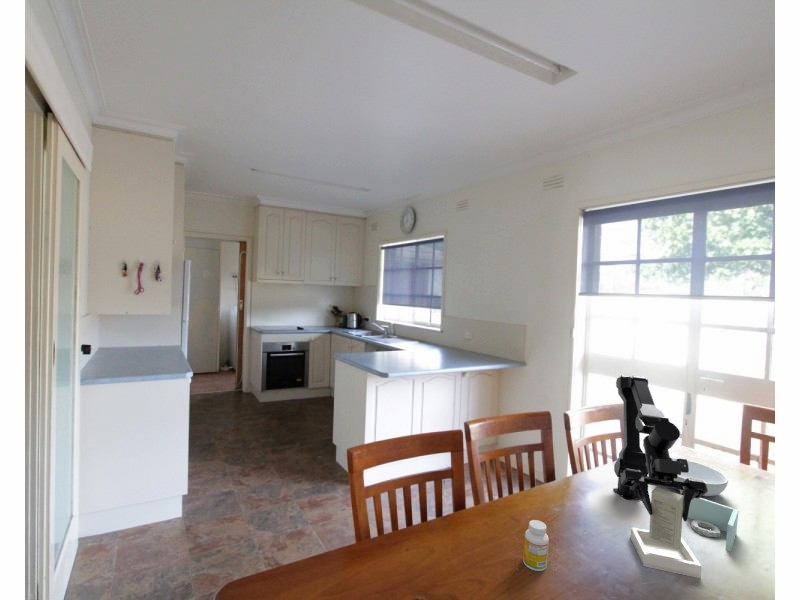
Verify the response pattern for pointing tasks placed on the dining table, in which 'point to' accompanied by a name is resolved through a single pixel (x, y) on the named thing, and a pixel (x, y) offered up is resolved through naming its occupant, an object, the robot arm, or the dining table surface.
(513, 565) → the dining table surface
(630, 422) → the robot arm
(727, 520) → the right angle wall
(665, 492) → the skincare box
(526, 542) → the supplement bottle
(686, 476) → the serving bowl
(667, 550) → the holder tray
